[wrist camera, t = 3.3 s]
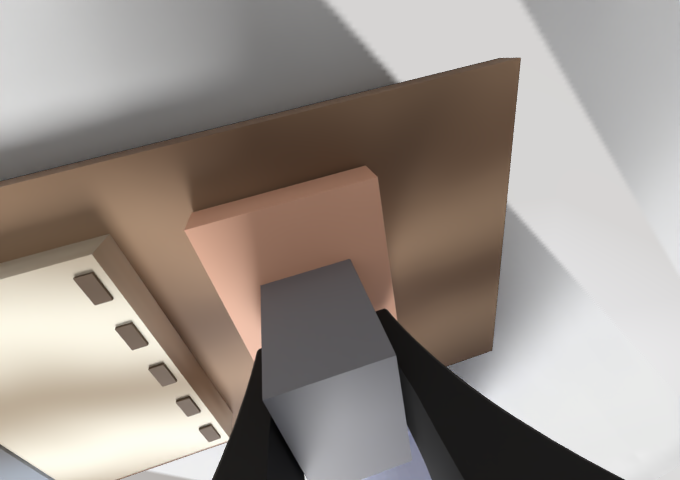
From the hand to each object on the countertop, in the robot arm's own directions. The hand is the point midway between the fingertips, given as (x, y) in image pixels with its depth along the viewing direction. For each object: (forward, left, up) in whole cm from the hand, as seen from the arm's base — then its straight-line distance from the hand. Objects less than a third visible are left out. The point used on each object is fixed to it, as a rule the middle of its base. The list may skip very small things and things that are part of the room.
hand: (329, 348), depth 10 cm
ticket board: (0, +4, -3) cm, 5 cm away
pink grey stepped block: (0, 0, -2) cm, 2 cm away
